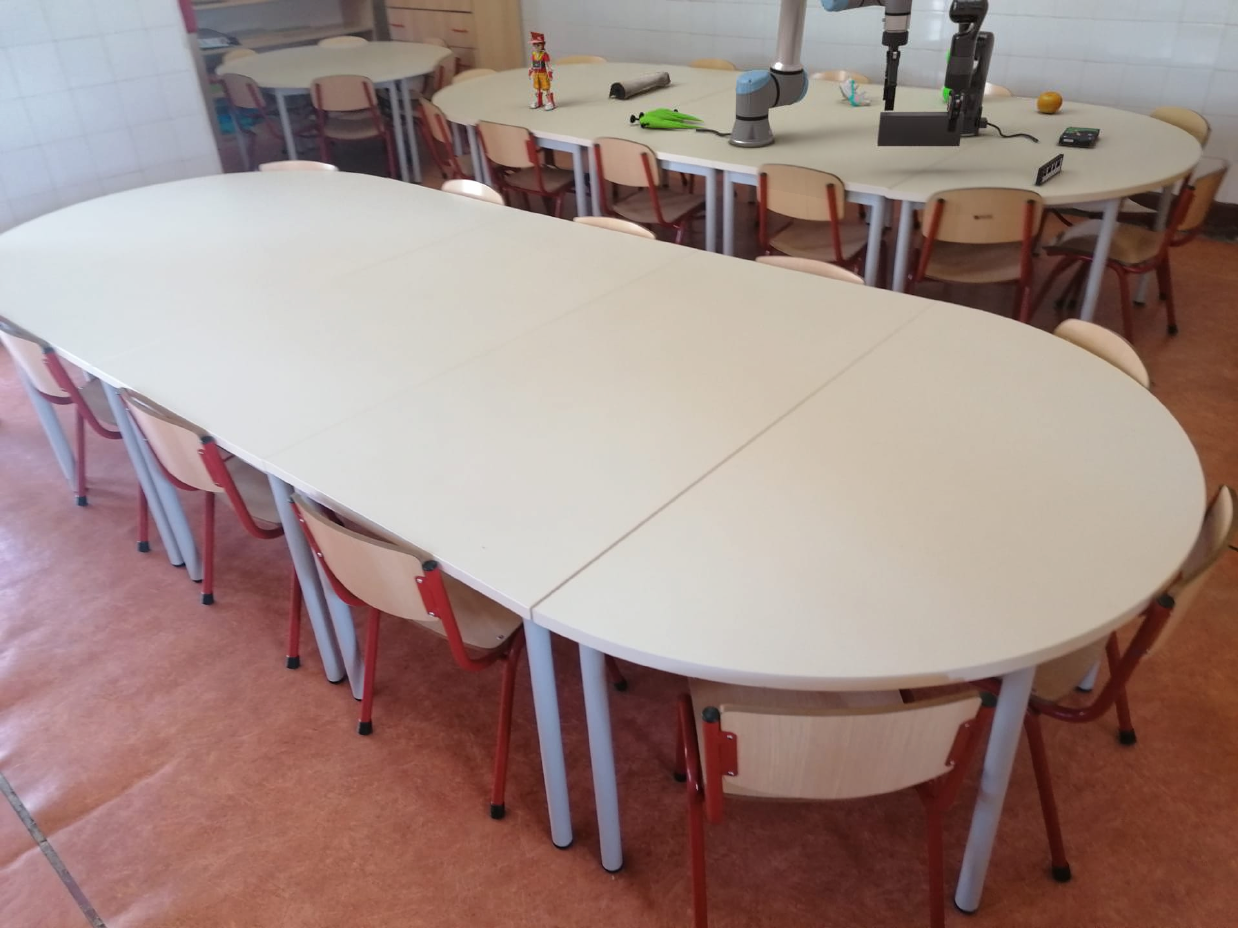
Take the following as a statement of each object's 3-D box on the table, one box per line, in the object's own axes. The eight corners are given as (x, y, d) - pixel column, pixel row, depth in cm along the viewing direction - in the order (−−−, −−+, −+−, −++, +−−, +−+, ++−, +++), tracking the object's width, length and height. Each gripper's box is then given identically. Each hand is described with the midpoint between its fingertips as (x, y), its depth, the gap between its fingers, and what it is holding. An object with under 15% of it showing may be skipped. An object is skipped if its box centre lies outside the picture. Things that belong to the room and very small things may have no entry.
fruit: (1033, 104, 332) (1048, 84, 329) (1031, 108, 340) (1046, 88, 337) (1052, 117, 331) (1068, 97, 327) (1050, 120, 338) (1065, 100, 335)
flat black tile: (1039, 185, 269) (1043, 168, 266) (1035, 184, 270) (1038, 168, 267) (1060, 170, 279) (1064, 154, 277) (1056, 169, 280) (1060, 153, 277)
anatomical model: (834, 77, 364) (859, 70, 363) (837, 103, 370) (861, 96, 369) (845, 85, 351) (870, 78, 351) (847, 112, 357) (872, 105, 357)
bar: (957, 142, 282) (962, 111, 277) (959, 146, 278) (964, 115, 273) (877, 142, 287) (880, 112, 281) (877, 146, 283) (880, 115, 278)
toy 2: (619, 127, 344) (687, 140, 332) (619, 113, 342) (688, 126, 329) (655, 115, 365) (720, 127, 352) (656, 102, 362) (722, 114, 350)
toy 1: (525, 109, 381) (517, 32, 364) (534, 104, 388) (527, 28, 371) (550, 110, 377) (543, 32, 360) (559, 105, 384) (553, 28, 367)
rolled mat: (651, 76, 408) (662, 61, 399) (662, 93, 408) (674, 79, 400) (605, 92, 391) (616, 77, 383) (617, 110, 391) (628, 95, 383)
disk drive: (1091, 148, 296) (1098, 136, 306) (1093, 140, 295) (1100, 128, 305) (1057, 145, 301) (1065, 133, 311) (1059, 137, 299) (1067, 125, 310)
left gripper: (881, 24, 277) (874, 96, 289) (884, 38, 257) (876, 115, 269) (906, 23, 276) (898, 96, 288) (911, 37, 256) (902, 115, 267)
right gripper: (975, 76, 262) (965, 136, 272) (969, 65, 273) (960, 123, 283) (948, 76, 263) (939, 136, 273) (944, 65, 275) (935, 123, 285)
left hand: (888, 105), depth 278 cm, fingers open, 13 cm apart
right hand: (950, 129), depth 278 cm, fingers closed on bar, 4 cm apart
